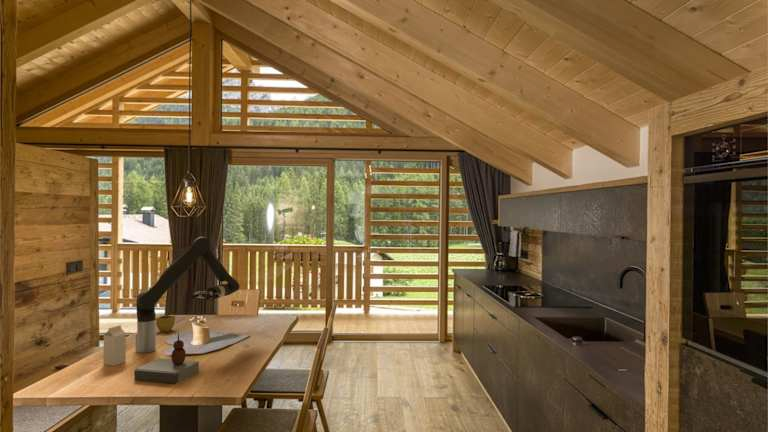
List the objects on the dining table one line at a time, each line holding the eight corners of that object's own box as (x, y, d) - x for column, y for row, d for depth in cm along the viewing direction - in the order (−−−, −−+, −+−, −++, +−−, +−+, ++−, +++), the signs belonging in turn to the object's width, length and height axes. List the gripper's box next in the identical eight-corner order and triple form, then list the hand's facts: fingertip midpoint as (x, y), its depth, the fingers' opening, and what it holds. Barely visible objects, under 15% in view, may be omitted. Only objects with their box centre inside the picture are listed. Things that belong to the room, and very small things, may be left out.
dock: (134, 380, 216) (134, 369, 215) (159, 367, 232) (159, 358, 232) (176, 384, 211) (176, 373, 211) (198, 371, 228) (198, 361, 228)
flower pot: (167, 332, 298) (167, 319, 298) (155, 332, 300) (155, 318, 299) (175, 329, 306) (175, 315, 306) (164, 328, 308) (164, 315, 308)
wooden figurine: (174, 361, 227) (174, 331, 226) (187, 361, 227) (187, 331, 227) (169, 366, 220) (169, 335, 220) (182, 366, 220) (182, 335, 220)
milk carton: (125, 362, 241) (125, 325, 241) (113, 366, 234) (113, 329, 234) (115, 360, 243) (115, 324, 243) (103, 364, 237) (103, 327, 236)
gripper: (204, 285, 268) (187, 290, 252) (226, 286, 265) (210, 291, 249) (204, 298, 268) (187, 303, 252) (226, 299, 265) (210, 305, 250)
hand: (198, 297), depth 251 cm, fingers open, 8 cm apart
